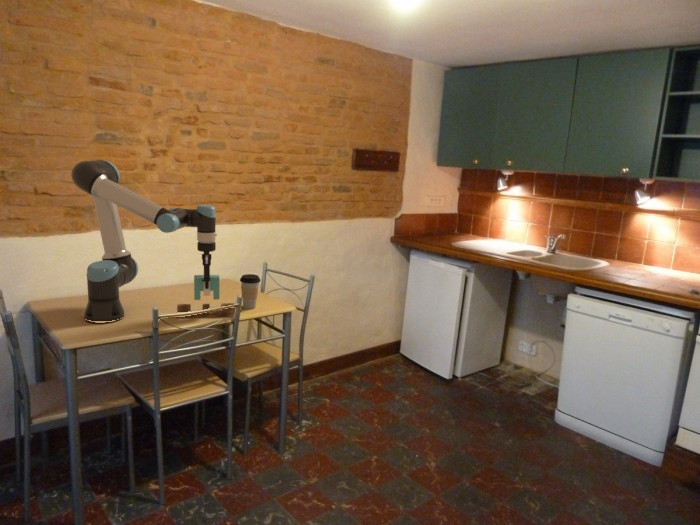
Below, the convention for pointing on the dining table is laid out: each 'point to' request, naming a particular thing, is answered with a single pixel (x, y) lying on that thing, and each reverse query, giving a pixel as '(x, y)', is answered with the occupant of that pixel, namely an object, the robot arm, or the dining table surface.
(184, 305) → the rail
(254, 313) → the dining table surface
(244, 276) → the coffee cup
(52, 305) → the dining table surface
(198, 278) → the clip
